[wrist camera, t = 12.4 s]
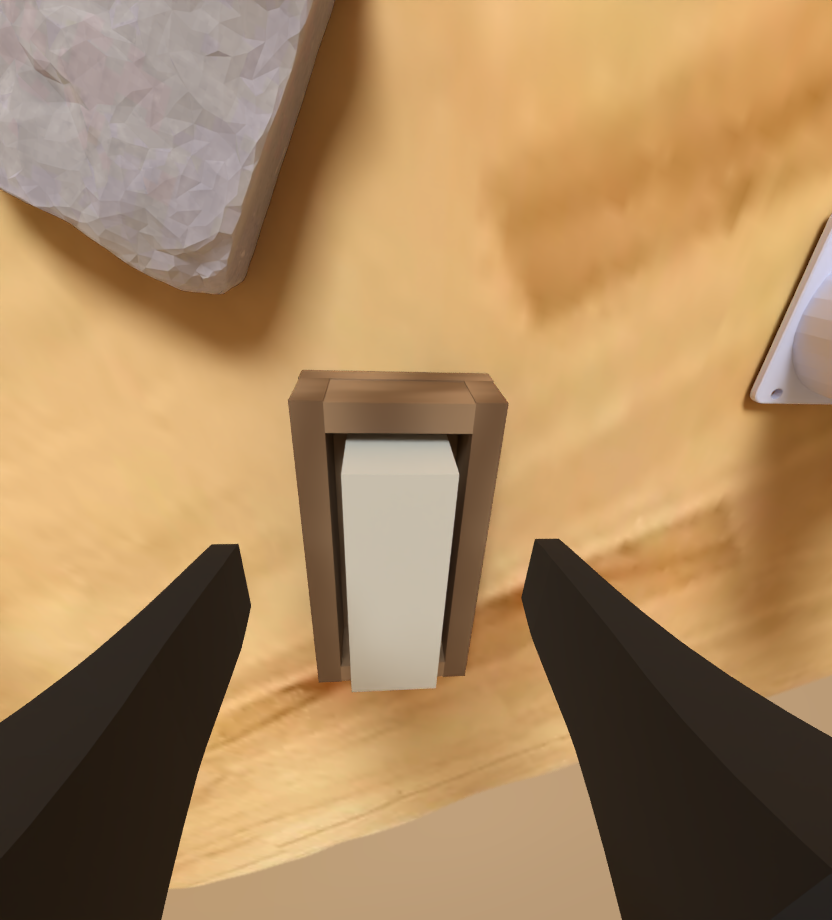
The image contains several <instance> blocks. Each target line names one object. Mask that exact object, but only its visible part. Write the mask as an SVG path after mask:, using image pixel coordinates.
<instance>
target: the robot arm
mask: <svg viewBox="0 0 832 920" xmlns="http://www.w3.org/2000/svg"><path fill="white" fill-rule="evenodd" d="M774 390H775V392H774V393H773V394H772V392H773V391H774ZM771 394H772V395H771ZM750 398H751V399H752V400H753V401H755V402H757V403H761V404H832V214H831V216H830V217H829V219H828V222H827V224H826V226H825V228H824V230H823V233H822V235H821V237H820V239H819V241H818V244H817V246H816V248H815V250H814V253H813V255H812V257H811V259H810V261H809V264H808V266H807V268H806V270H805V272H804V275H803V277H802V279H801V281H800V283H799V286H798V288H797V290H796V292H795V295H794V297H793V299H792V301H791V303H790V306H789V308H788V310H787V312H786V314H785V317H784V319H783V321H782V323H781V326H780V328H779V330H778V332H777V334H776V337H775V339H774V341H773V343H772V345H771V348H770V350H769V352H768V354H767V357H766V359H765V361H764V363H763V365H762V368H761V370H760V372H759V374H758V376H757V379H756V381H755V383H754V385H753V388H752V390H751V393H750ZM521 598H522V602H523V606H524V610H525V614H526V618H527V622H528V626H529V629H530V633H531V637H532V639H533V642H534V644H535V647H536V650H537V652H538V655H539V657H540V660H541V662H542V665H543V668H544V670H545V673H546V675H547V678H548V680H549V683H550V685H551V688H552V690H553V693H554V695H555V698H556V700H557V703H558V705H559V708H560V710H561V713H562V715H563V718H564V720H565V723H566V725H567V728H568V731H569V733H570V736H571V739H572V742H573V745H574V747H575V750H576V754H577V757H578V760H579V764H580V767H581V770H582V773H583V777H584V780H585V784H586V787H587V790H588V794H589V797H590V801H591V804H592V808H593V811H594V815H595V818H596V822H597V826H598V829H599V833H600V837H601V840H602V844H603V847H604V851H605V855H606V859H607V863H608V867H609V871H610V874H611V878H612V882H613V886H614V890H615V894H616V898H617V902H618V906H619V910H620V913H621V918H622V920H832V737H830V736H829V735H827V734H825V733H823V732H822V731H820V730H818V729H816V728H815V727H813V726H811V725H809V724H808V723H806V722H804V721H802V720H801V719H799V718H797V717H796V716H794V715H792V714H790V713H789V712H787V711H785V710H784V709H782V708H780V707H779V706H777V705H775V704H774V703H772V702H771V701H769V700H767V699H766V698H764V697H763V696H761V695H759V694H758V693H756V692H755V691H753V690H751V689H750V688H748V687H746V686H745V685H743V684H742V683H740V682H739V681H737V680H736V679H734V678H733V677H731V676H730V675H728V674H726V673H725V672H723V671H722V670H721V669H719V668H718V667H716V666H715V665H713V664H712V663H711V662H709V661H708V660H706V659H705V658H703V657H702V656H700V655H699V654H698V653H696V652H695V651H693V650H692V649H690V648H689V647H688V646H686V645H685V644H684V643H682V642H681V641H679V640H678V639H677V638H675V637H674V636H673V635H672V634H670V633H669V632H668V631H666V630H665V629H664V628H663V627H661V626H660V625H659V624H657V623H656V622H655V621H654V620H652V619H651V618H650V617H648V616H647V615H646V614H645V613H644V612H642V611H641V610H640V609H639V608H637V607H636V606H635V605H634V604H633V603H631V602H630V601H629V600H628V599H627V598H625V597H624V596H623V595H622V594H621V593H620V592H618V591H617V590H616V589H615V588H614V587H613V586H612V585H610V584H609V583H608V582H607V581H606V580H605V579H604V578H602V577H601V576H600V575H599V574H598V573H597V572H596V571H595V570H593V569H592V568H591V567H590V566H589V565H588V564H587V563H586V562H585V561H583V560H582V559H581V558H580V557H579V556H578V555H577V554H576V553H574V552H573V551H572V550H571V549H570V548H569V547H568V546H567V545H565V544H564V543H563V542H562V541H561V540H559V539H535V541H534V546H533V550H532V554H531V559H530V563H529V567H528V572H527V576H526V580H525V584H524V589H523V593H522V597H521ZM250 608H251V603H250V598H249V593H248V588H247V583H246V579H245V574H244V569H243V564H242V559H241V554H240V549H239V545H238V544H214V545H211V546H210V547H209V548H207V549H206V550H205V551H204V552H203V553H202V554H201V555H200V556H199V557H198V558H197V559H196V560H195V561H194V562H193V563H192V564H190V565H189V566H188V567H187V568H186V569H185V570H184V571H183V572H182V573H181V574H180V575H179V576H178V577H177V578H176V579H175V580H174V581H173V582H172V583H171V584H170V585H169V586H168V587H167V588H166V589H164V590H163V591H162V592H161V593H160V594H159V595H158V596H157V597H156V598H155V599H154V600H153V601H152V602H150V603H149V604H148V605H147V606H146V607H145V608H144V609H143V610H142V611H141V612H140V613H139V614H138V615H136V616H135V617H134V618H133V619H132V620H131V621H130V622H129V623H127V624H126V625H125V626H124V627H123V628H122V629H120V630H119V631H118V632H117V633H116V634H115V635H113V636H112V637H111V638H110V639H109V640H108V641H106V642H105V643H104V644H103V645H102V646H101V647H100V648H98V649H97V650H96V651H95V652H94V653H92V654H91V655H90V656H89V657H88V658H86V659H85V660H84V661H83V662H81V663H80V664H79V665H78V666H76V667H75V668H74V669H72V670H71V671H70V672H69V673H67V674H66V675H65V676H64V677H62V678H61V679H60V680H58V681H57V682H56V683H54V684H53V685H52V686H50V687H49V688H48V689H46V690H45V691H44V692H42V693H41V694H40V695H38V696H37V697H36V698H34V699H33V700H32V701H30V702H29V703H27V704H26V705H25V706H23V707H22V708H21V709H19V710H18V711H16V712H15V713H13V714H12V715H10V716H9V717H8V718H6V719H5V720H3V721H2V722H0V920H161V918H162V914H163V909H164V905H165V900H166V896H167V892H168V888H169V884H170V880H171V876H172V871H173V867H174V863H175V859H176V855H177V851H178V847H179V843H180V839H181V835H182V831H183V827H184V823H185V819H186V816H187V812H188V808H189V804H190V800H191V797H192V793H193V789H194V785H195V781H196V778H197V774H198V771H199V768H200V764H201V761H202V758H203V755H204V752H205V749H206V746H207V743H208V740H209V738H210V735H211V732H212V729H213V727H214V724H215V721H216V718H217V715H218V713H219V710H220V707H221V704H222V702H223V699H224V696H225V693H226V690H227V688H228V685H229V682H230V679H231V676H232V674H233V671H234V668H235V665H236V662H237V659H238V657H239V654H240V651H241V648H242V644H243V640H244V635H245V631H246V627H247V622H248V618H249V613H250Z"/></svg>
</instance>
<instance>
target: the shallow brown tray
mask: <svg viewBox="0 0 832 920" xmlns="http://www.w3.org/2000/svg"><path fill="white" fill-rule="evenodd" d="M493 382H494V381H493V380H492V378H491V377H490V376H489V374H477V373H426V372H375V371H323V370H302V371H301V373H300V375H299V377H298V382H297V384H296V386H295V388H294V390H293V392H292V394H291V396H290V398H289V400H288V405H289V414H290V423H291V432H292V441H293V450H294V460H295V469H296V478H297V487H298V496H299V505H300V514H301V524H302V533H303V542H304V551H305V560H306V569H307V578H308V588H309V597H310V606H311V615H312V624H313V633H314V643H315V652H316V661H317V670H318V679H319V682H339V681H348V680H351V666H350V646H349V626H348V605H347V585H346V565H345V544H344V524H343V504H342V483H341V472H342V465H343V458H344V451H345V444H346V438H347V433H412V434H446V435H447V438H448V441H449V444H450V447H451V450H452V453H453V456H454V459H455V462H456V465H457V468H458V472H459V482H458V491H457V500H456V509H455V518H454V527H453V536H452V546H451V555H450V564H449V573H448V582H447V591H446V600H445V609H444V618H443V627H442V637H441V646H440V655H439V664H438V673H437V676H443V677H448V676H465V670H466V664H467V658H468V652H469V646H470V639H471V633H472V627H473V621H474V614H475V608H476V602H477V596H478V590H479V583H480V577H481V571H482V565H483V559H484V552H485V546H486V540H487V534H488V528H489V521H490V515H491V509H492V503H493V496H494V490H495V484H496V478H497V472H498V465H499V459H500V453H501V447H502V441H503V434H504V428H505V422H506V416H507V410H508V402H507V401H506V399H505V398H504V396H503V395H502V394H501V392H500V391H499V389H498V388H497V387H496V385H495V384H494V383H493Z"/></svg>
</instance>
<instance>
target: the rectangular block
mask: <svg viewBox="0 0 832 920" xmlns="http://www.w3.org/2000/svg"><path fill="white" fill-rule="evenodd" d="M458 482H459V472H458V468H457V465H456V462H455V459H454V456H453V453H452V450H451V447H450V444H449V441H448V438H447V435H446V434H412V433H347V438H346V444H345V451H344V458H343V465H342V472H341V483H342V504H343V524H344V544H345V565H346V585H347V605H348V626H349V646H350V666H351V687H352V692H366V691H387V690H407V689H428V688H436V682H437V673H438V664H439V655H440V646H441V637H442V627H443V618H444V609H445V600H446V591H447V582H448V573H449V564H450V555H451V546H452V536H453V527H454V518H455V509H456V500H457V491H458Z"/></svg>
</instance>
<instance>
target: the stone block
mask: <svg viewBox="0 0 832 920" xmlns="http://www.w3.org/2000/svg"><path fill="white" fill-rule="evenodd" d="M334 2H335V0H0V189H1V190H3V191H5V192H7V193H9V194H10V195H12V196H14V197H16V198H18V199H20V200H22V201H23V202H25V203H27V204H30V205H33V206H35V207H37V208H39V209H41V210H43V211H46V212H48V213H50V214H52V215H55V216H57V217H59V218H61V219H63V220H65V221H67V222H69V223H71V224H72V225H73V226H74V227H76V228H77V229H78V230H80V231H81V232H82V233H84V234H85V235H86V236H88V237H89V238H90V239H92V240H94V241H95V242H97V243H98V244H100V245H101V246H103V247H104V248H106V249H107V250H109V251H110V252H111V253H113V254H114V255H115V256H117V257H118V258H120V259H121V260H122V261H124V262H125V263H127V264H128V265H130V266H132V267H133V268H135V269H137V270H139V271H141V272H143V273H144V274H146V275H148V276H150V277H152V278H154V279H157V280H159V281H162V282H165V283H167V284H169V285H171V286H173V287H175V288H177V289H179V290H182V291H190V292H202V293H209V294H224V293H225V292H227V291H228V290H230V289H231V288H232V287H235V286H236V285H238V284H239V283H240V282H242V281H243V280H244V278H245V276H246V274H247V271H248V267H249V263H250V261H251V258H252V256H253V253H254V250H255V247H256V244H257V240H258V237H259V234H260V230H261V227H262V224H263V221H264V218H265V215H266V212H267V209H268V206H269V203H270V200H271V197H272V193H273V190H274V187H275V184H276V180H277V177H278V174H279V171H280V168H281V165H282V163H283V160H284V157H285V154H286V151H287V148H288V145H289V142H290V139H291V135H292V132H293V129H294V126H295V123H296V120H297V117H298V114H299V111H300V108H301V105H302V102H303V99H304V96H305V92H306V89H307V85H308V82H309V79H310V76H311V73H312V70H313V66H314V63H315V59H316V56H317V53H318V50H319V47H320V44H321V41H322V38H323V35H324V32H325V30H326V27H327V24H328V21H329V18H330V15H331V12H332V9H333V5H334Z"/></svg>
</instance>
